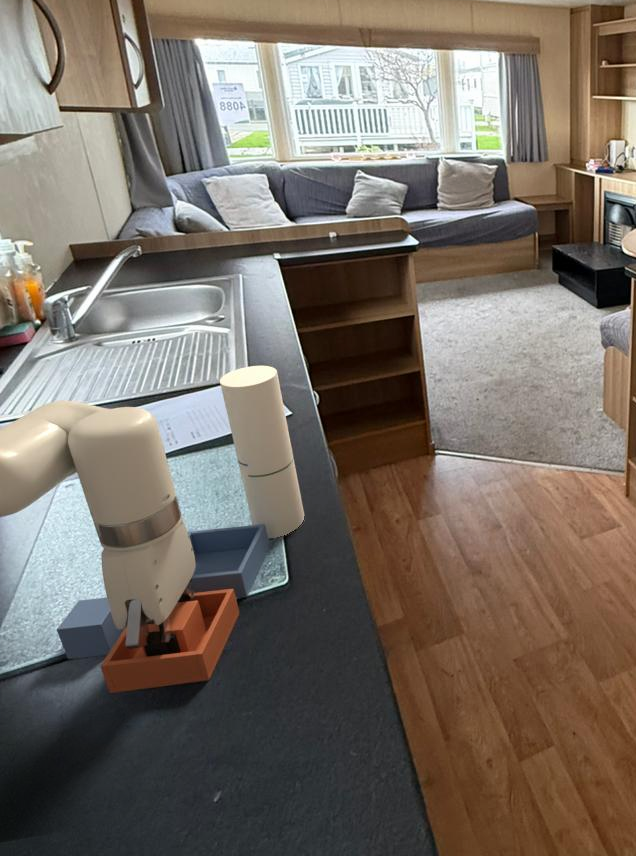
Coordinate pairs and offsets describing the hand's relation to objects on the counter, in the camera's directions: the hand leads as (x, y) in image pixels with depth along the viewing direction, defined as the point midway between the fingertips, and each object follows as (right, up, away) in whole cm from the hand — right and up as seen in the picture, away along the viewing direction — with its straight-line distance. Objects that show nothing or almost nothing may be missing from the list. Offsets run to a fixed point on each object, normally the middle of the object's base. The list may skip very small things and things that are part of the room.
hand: (176, 644), depth 77 cm
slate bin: (-2, +4, +12) cm, 13 cm away
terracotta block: (0, 0, 0) cm, 0 cm away
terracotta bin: (0, -1, 0) cm, 1 cm away
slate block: (-10, 0, +1) cm, 10 cm away
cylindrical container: (+1, +8, +23) cm, 24 cm away
